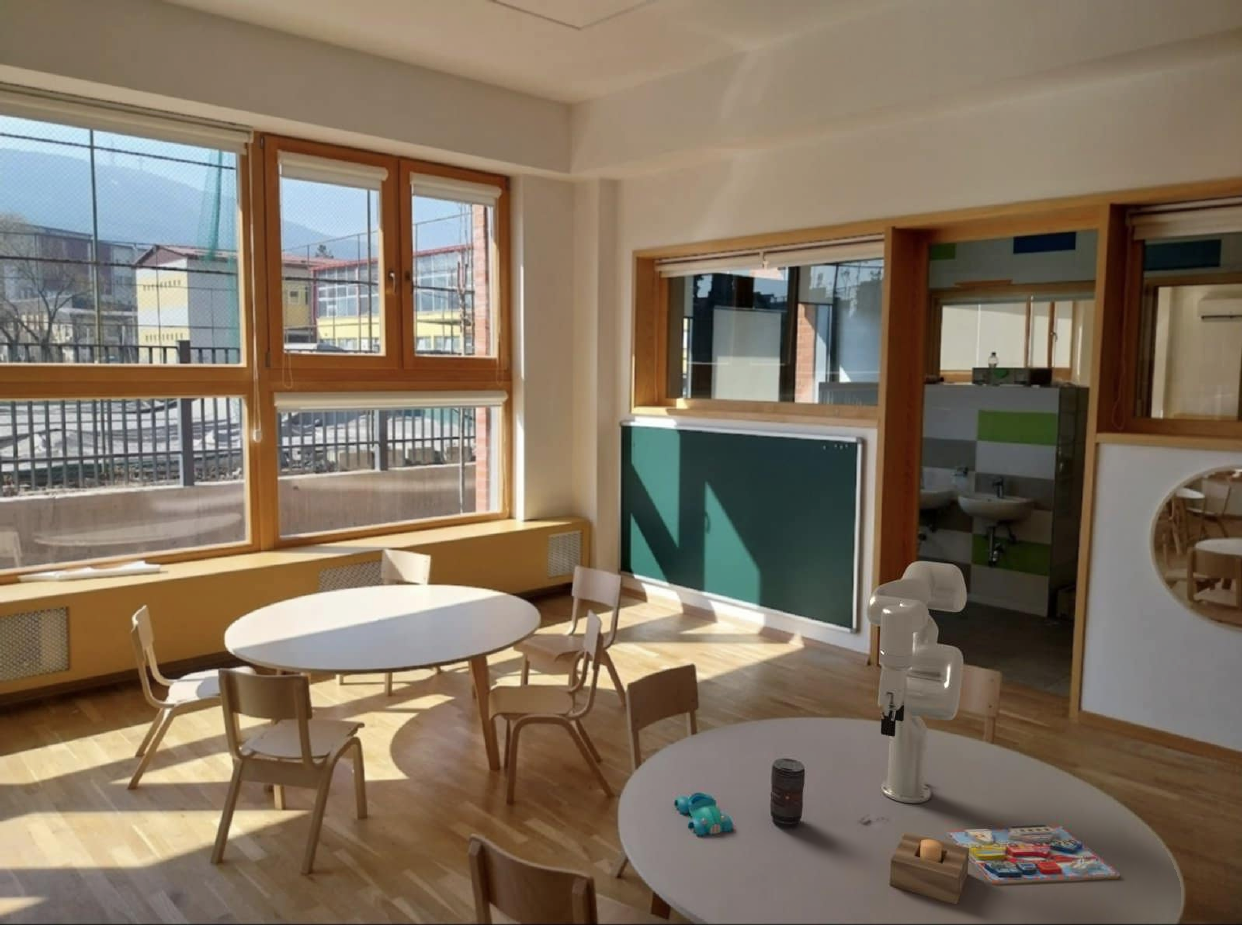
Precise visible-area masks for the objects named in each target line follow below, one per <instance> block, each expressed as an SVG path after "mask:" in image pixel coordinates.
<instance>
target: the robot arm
mask: <svg viewBox="0 0 1242 925" xmlns="http://www.w3.org/2000/svg"><path fill="white" fill-rule="evenodd" d="M967 594H968V593H967V586H966V582H965V578H964V575H963V573H962V570H961V569H960V568H959V567H958V566H956V565H955V564H952V563H943V562H936V561H935V562H934V561H927V560H918V561H914V562H912V563H910V564H908V566H907V568H906V569H905V571H904V573H903V574H902V577H901V579H897V580H893V581H890V582H887V583H883V584H881V585H878V586H877V587H876V588H875V589H874V591H873V592H872V594H871V596H870V598H869V600H868V602H867V606H866V616H867V617H866V618H867V620H868V621H869V623H870V624H871V625H873V626H875V627H880V629H879V631H880V632H879V633H880V634H879V653H878V654H879V656H878V664H879V666H881V670H880V677H879V687H878V688H879V689H878V699H877V705H878V707H879V708H882V711H881V712H882V713H881V720H880V722H881V723H880V734H881V735H882V736H883V735H884V736H888V737H889V743H888V744H889V746H888V747H889V748H888V764H887V779H886V780H884V781H882V783H881V785H880V791H881V792H882V794H884V795H885V796H886V797H887V798H890V799H892V800H893V801H897V802H900V803H906V804H921V803H925V802H927V801H928V800H929V799H930V798H931V790H930V788H929V787H928V786H927V785H926V772H927V771H926V770H927V769H926V768H927V756H928V755H927V753H928V737H929V736H928V733H929V732H928V729H927V726H926V724H925V722H924V720H923V718H922V717H925V718H930V719H936V720H942V721H951V720H953V719H955V717H956V715H957V713H958V710H959V706H960V705H959V704H960V699H961V698H960V696H961V689H962V682H963V681H962V680H963V673H964V657H963V653H962V651H961V650H960V649H959V648H958V647H956V646H952V645H947V644H943V643H938V636H939V627H938V625H937V622H936V621H935V620H934V618H933V617H932V616H931V615H930V612H929V609H930V610H936V611H942V612H950V613H951V612H952V613H957V612H961V611H962V610H963V609H964V608H965V606H966V603H967V599H968V596H967ZM908 675H910V676H908Z"/></svg>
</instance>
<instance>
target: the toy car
mask: <svg viewBox="0 0 1242 925" xmlns="http://www.w3.org/2000/svg"><path fill="white" fill-rule="evenodd" d="M673 805H674V809H675V810H678V812H679V813H680V814H683V815H686V814H690V817H691V818H690V819H689V821H688V822H687V828H688V829H689V828H691V831H692V833H694V834H695V835H696V836H705V835H707V834H709V835H712V834H722V833H723V832H730V831H732V830H733V826H734V825H733V824H734V823H733V821H732V819H731V817H730V816H729V815H727V814H725V813H722V812H721V811H720V810H719V807H718V806H717V800H715V799H714V797H713V796H712V795H710V794H708V793H704V792H695V793H692V795H690V796H688V797H687V796H684V795H680V794H679V795H678V797H677V798H676V799H674V804H673Z"/></svg>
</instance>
